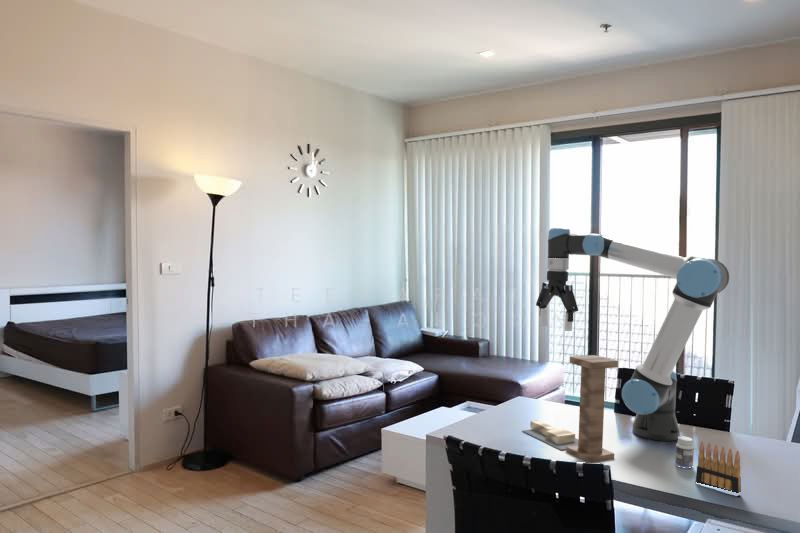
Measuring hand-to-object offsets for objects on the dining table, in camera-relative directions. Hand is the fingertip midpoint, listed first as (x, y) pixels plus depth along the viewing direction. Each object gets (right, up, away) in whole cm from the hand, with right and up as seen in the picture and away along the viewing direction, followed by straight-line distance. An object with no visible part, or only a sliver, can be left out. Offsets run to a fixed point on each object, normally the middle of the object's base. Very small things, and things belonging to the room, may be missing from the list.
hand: (555, 328), depth 209 cm
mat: (-5, -35, -18) cm, 40 cm away
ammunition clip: (+28, -37, -56) cm, 73 cm away
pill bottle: (+27, -37, -40) cm, 61 cm away
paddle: (-6, -35, -15) cm, 38 cm away
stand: (+2, -36, -32) cm, 48 cm away
